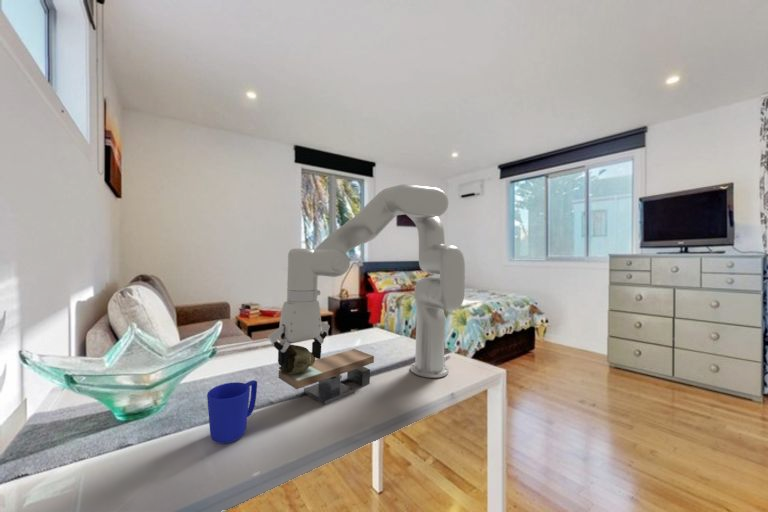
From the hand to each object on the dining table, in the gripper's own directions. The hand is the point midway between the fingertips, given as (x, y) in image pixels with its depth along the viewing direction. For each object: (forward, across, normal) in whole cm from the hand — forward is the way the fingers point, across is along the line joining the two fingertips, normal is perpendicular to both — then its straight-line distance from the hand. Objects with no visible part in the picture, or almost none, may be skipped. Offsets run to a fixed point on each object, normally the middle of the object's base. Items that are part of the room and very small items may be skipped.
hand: (300, 361), depth 83 cm
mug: (+12, +17, +1) cm, 20 cm away
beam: (+5, -9, 0) cm, 11 cm away
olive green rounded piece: (0, -4, 0) cm, 4 cm away
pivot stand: (+11, -13, 0) cm, 17 cm away
